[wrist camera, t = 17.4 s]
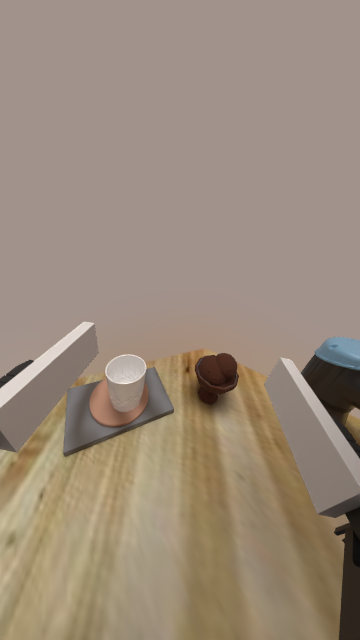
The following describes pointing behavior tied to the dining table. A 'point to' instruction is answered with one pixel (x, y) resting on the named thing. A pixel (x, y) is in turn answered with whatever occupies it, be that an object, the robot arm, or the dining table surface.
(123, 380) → the white cup
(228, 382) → the ice cream bowl
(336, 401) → the robot arm
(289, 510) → the dining table surface
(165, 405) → the serving stand
